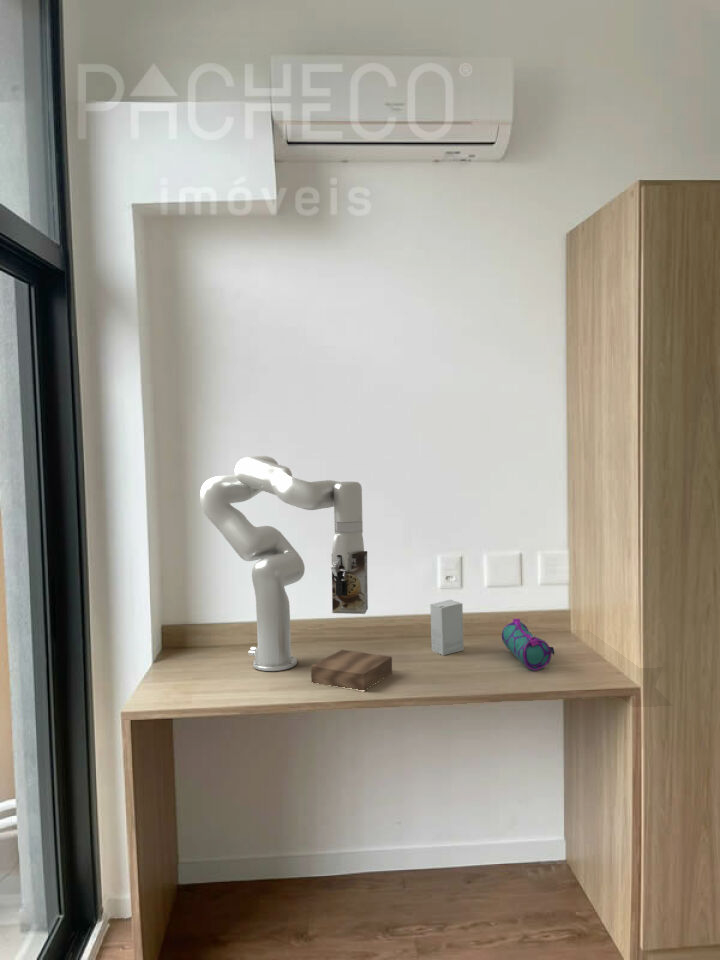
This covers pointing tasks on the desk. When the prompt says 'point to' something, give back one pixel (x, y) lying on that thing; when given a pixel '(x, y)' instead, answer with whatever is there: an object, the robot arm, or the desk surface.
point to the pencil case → (526, 646)
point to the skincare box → (446, 627)
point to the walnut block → (351, 669)
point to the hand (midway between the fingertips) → (350, 591)
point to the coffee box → (353, 588)
